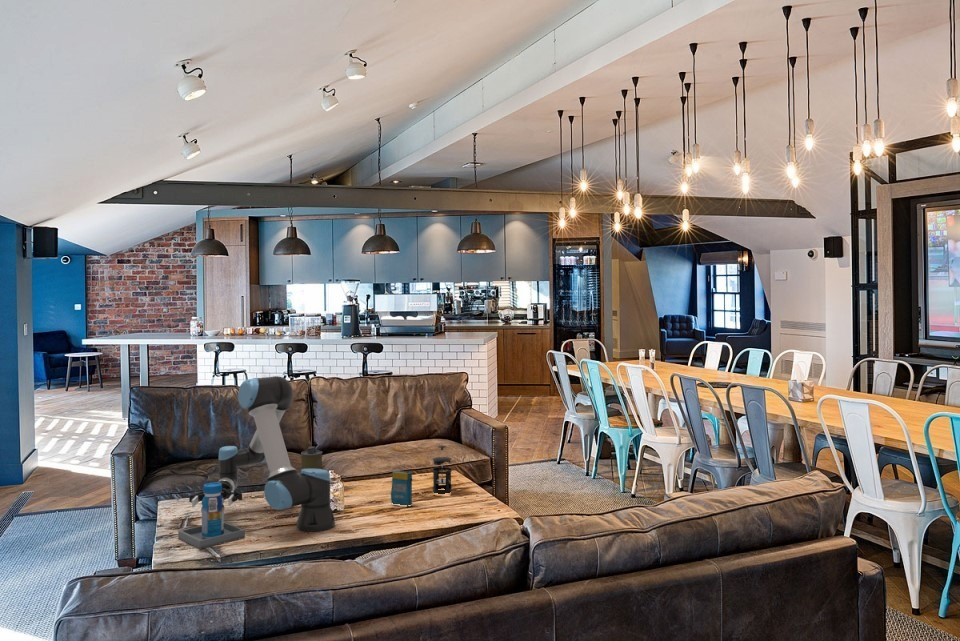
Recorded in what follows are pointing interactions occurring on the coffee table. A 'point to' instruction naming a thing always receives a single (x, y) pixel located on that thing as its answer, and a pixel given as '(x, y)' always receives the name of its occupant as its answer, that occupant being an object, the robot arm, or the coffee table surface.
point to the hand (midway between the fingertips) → (211, 503)
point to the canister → (311, 458)
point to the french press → (436, 475)
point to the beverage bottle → (212, 511)
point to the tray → (196, 539)
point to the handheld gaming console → (401, 488)
